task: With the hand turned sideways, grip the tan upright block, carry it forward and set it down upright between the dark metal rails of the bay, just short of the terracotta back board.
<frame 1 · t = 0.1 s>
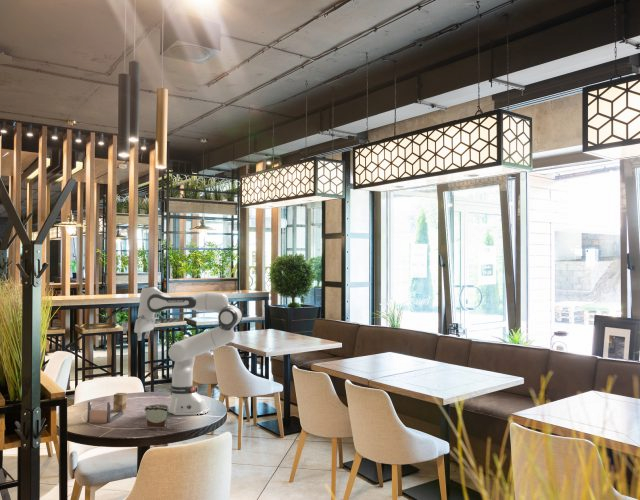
hand: (142, 339, 310), 39 cm above the table, tool pointing down, fingers open, 8 cm apart
bay: (106, 417, 290), on the table
food container: (158, 426, 277), on the table
tan upright block: (119, 410, 306), on the table
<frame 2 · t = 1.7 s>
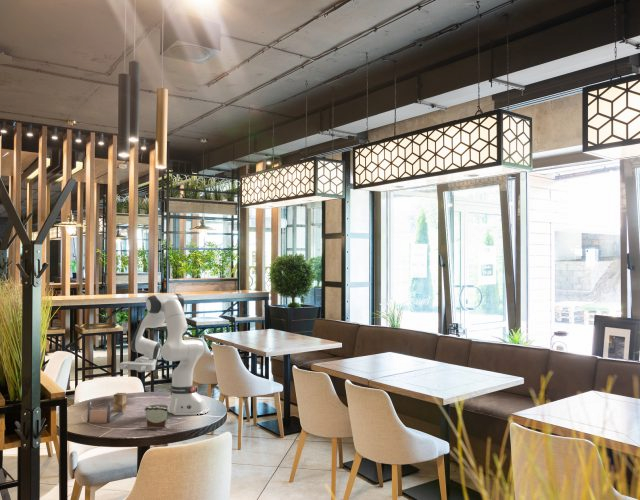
hand: (132, 368, 323), 20 cm above the table, tool horizontal, fingers open, 8 cm apart
nothing on the table moved.
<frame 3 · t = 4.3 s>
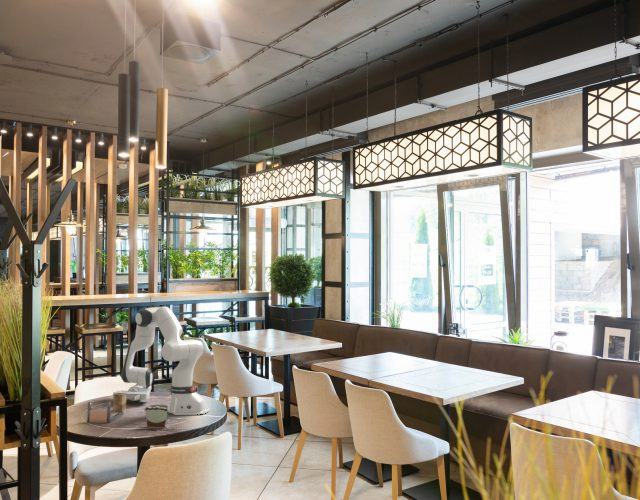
hand: (125, 398, 314), 5 cm above the table, tool horizontal, fingers open, 8 cm apart
nothing on the table moved.
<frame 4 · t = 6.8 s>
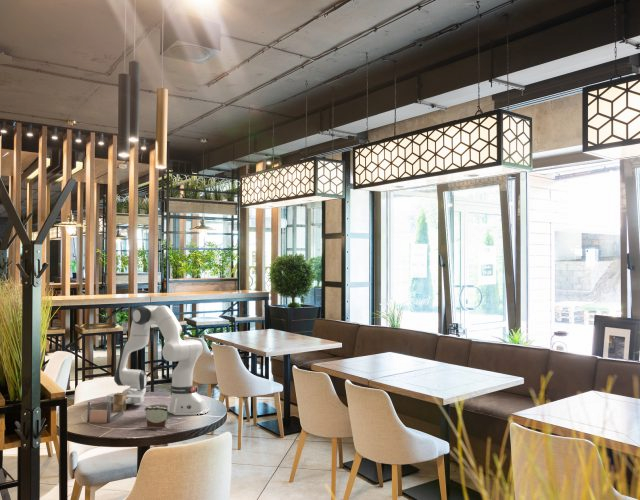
hand: (119, 401, 306), 5 cm above the table, tool horizontal, fingers closed on tan upright block, 5 cm apart
tan upright block: (119, 410, 306), on the table, touching gripper
everything else where it was.
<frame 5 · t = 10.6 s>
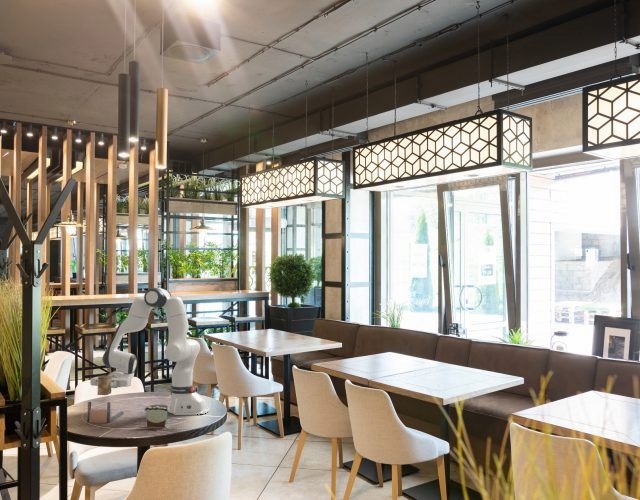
hand: (103, 384, 287), 18 cm above the table, tool horizontal, fingers closed on tan upright block, 5 cm apart
tan upright block: (104, 394, 288), point 13 cm above the table, touching gripper
everything else where it was.
when the fingers open (6 cm above the table, at t = 14.6 s): tan upright block stays where it is, resting in bay.
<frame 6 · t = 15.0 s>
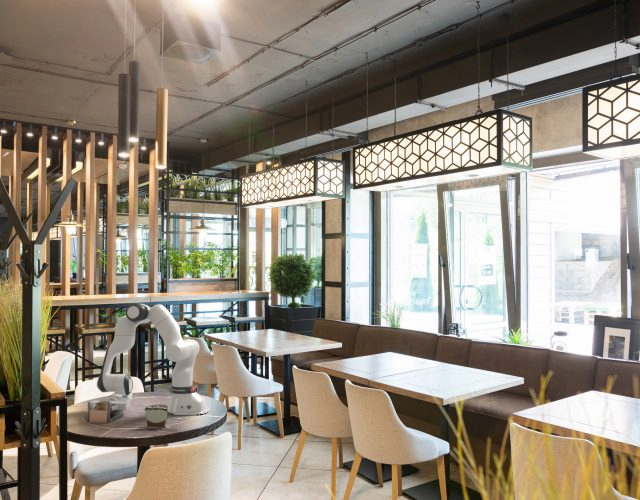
hand: (102, 408, 286), 6 cm above the table, tool horizontal, fingers open, 8 cm apart
tan upright block: (102, 419, 286), resting in bay
everything else where it was.
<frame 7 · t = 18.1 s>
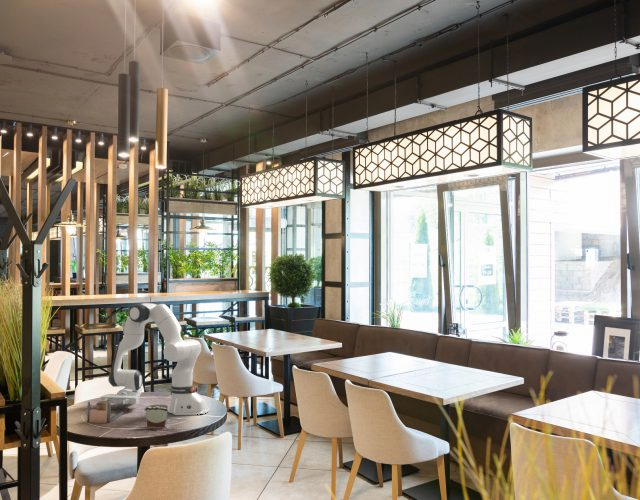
hand: (113, 402, 299), 6 cm above the table, tool horizontal, fingers open, 8 cm apart
nothing on the table moved.
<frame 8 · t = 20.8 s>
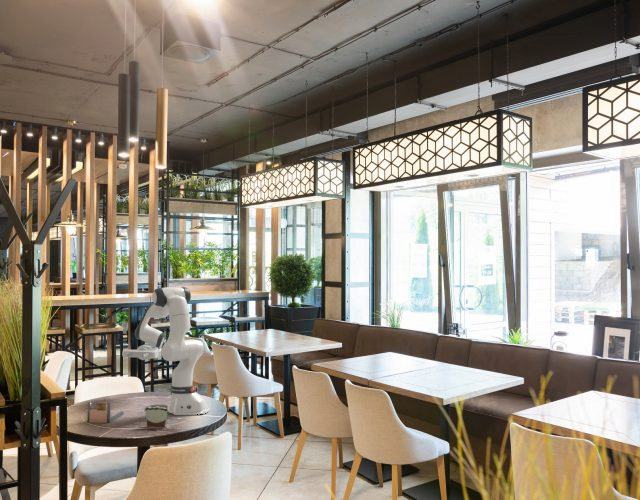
hand: (134, 355, 321), 28 cm above the table, tool horizontal, fingers open, 8 cm apart
nothing on the table moved.
at the end: tan upright block inside the target area (0.0 cm from its centre), resting in bay; tan upright block tilted 0°; the gripper is holding nothing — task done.
